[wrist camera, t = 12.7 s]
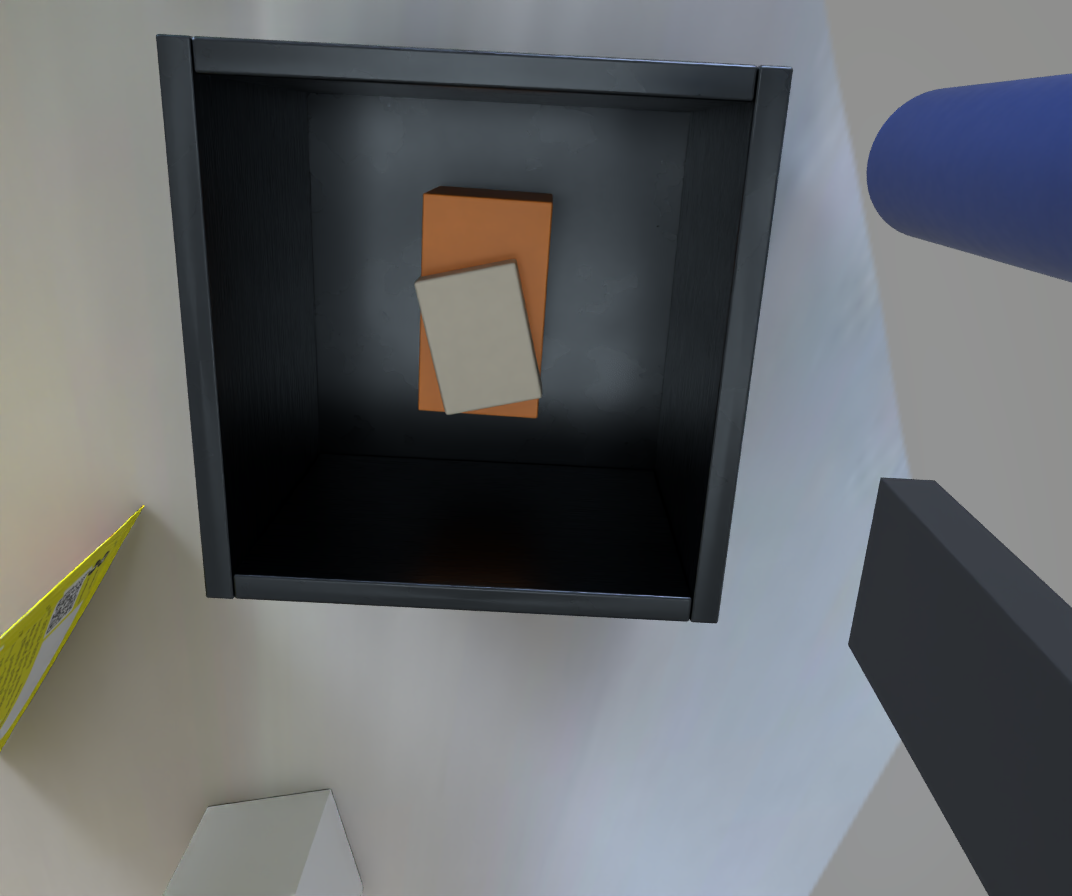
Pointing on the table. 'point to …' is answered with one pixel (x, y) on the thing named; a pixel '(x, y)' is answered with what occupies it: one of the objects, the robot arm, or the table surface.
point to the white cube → (269, 850)
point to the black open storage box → (394, 321)
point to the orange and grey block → (483, 300)
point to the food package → (48, 631)
